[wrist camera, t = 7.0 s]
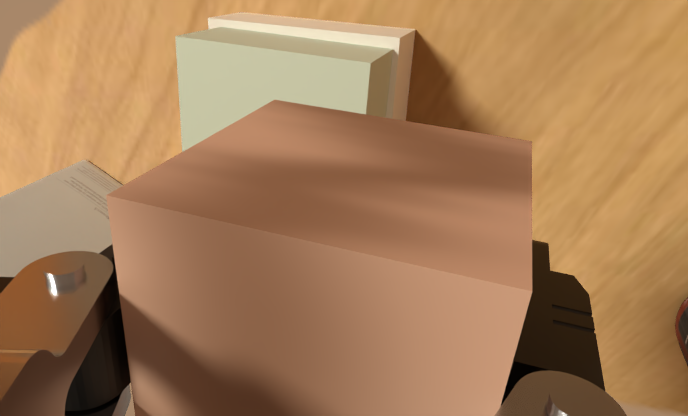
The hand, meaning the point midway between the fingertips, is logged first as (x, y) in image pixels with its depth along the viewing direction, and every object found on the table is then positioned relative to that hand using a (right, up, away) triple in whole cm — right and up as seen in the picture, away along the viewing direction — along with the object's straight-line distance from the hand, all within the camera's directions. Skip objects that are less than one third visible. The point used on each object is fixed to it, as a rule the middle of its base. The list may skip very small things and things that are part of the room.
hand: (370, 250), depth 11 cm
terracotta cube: (0, 0, +1) cm, 1 cm away
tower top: (-3, +5, +18) cm, 18 cm away
